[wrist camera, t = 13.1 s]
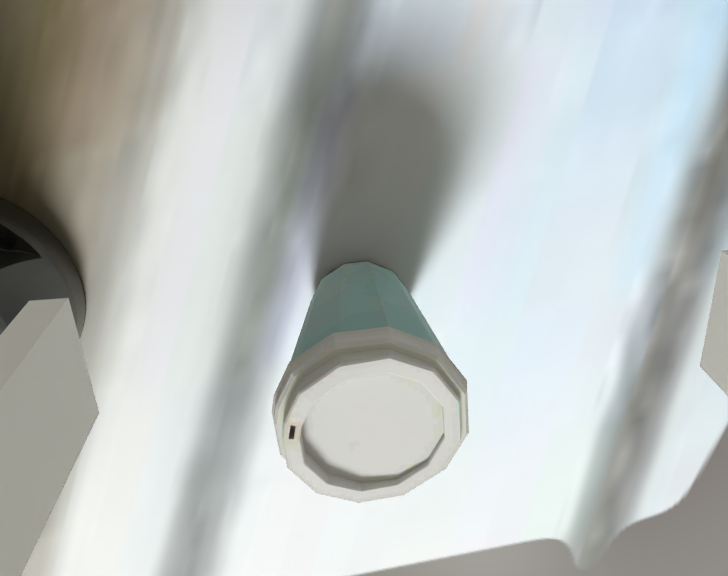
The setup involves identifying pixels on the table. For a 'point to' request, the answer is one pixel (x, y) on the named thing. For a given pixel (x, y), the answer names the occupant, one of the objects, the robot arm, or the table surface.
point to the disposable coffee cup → (368, 391)
